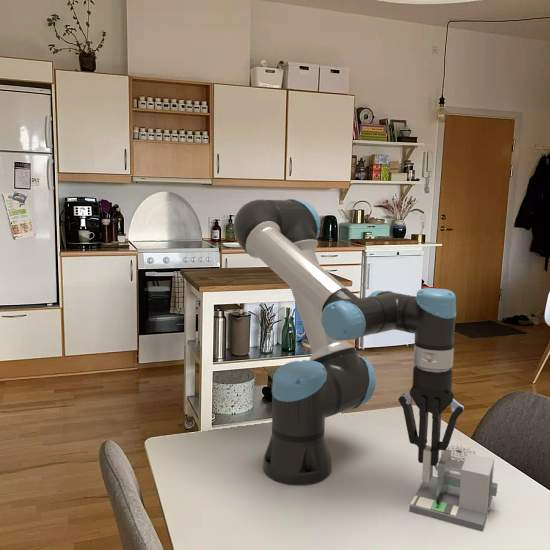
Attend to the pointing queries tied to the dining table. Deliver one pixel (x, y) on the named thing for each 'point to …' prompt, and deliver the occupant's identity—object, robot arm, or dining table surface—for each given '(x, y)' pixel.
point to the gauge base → (459, 495)
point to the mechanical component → (456, 458)
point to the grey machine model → (452, 477)
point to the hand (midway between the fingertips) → (427, 478)
